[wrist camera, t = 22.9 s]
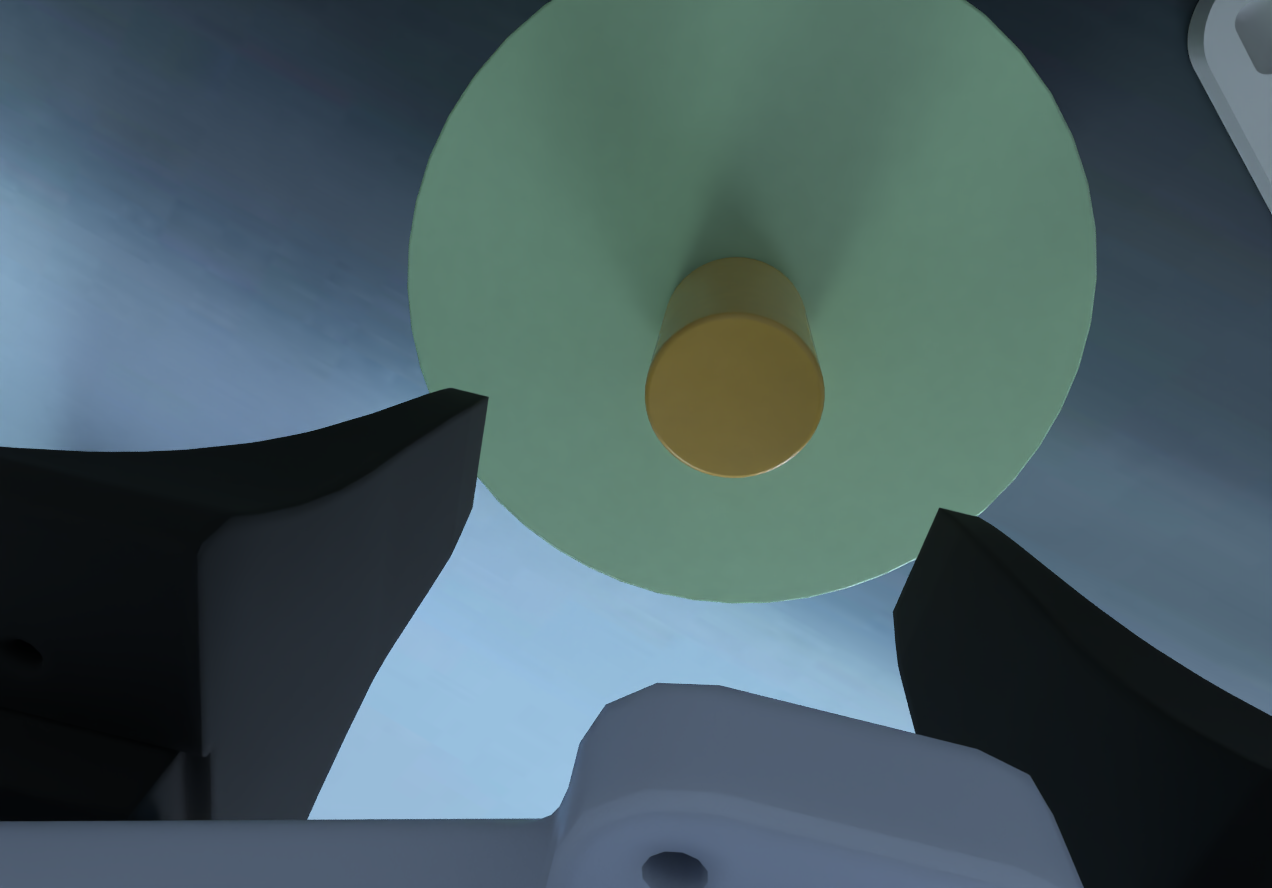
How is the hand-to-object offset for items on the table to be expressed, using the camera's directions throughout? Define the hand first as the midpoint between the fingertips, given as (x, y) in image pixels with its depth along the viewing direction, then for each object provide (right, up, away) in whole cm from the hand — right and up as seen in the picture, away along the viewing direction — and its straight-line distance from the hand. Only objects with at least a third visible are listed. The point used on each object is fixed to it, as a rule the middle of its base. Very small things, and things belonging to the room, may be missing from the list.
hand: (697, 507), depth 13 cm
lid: (+1, +3, +3) cm, 4 cm away
